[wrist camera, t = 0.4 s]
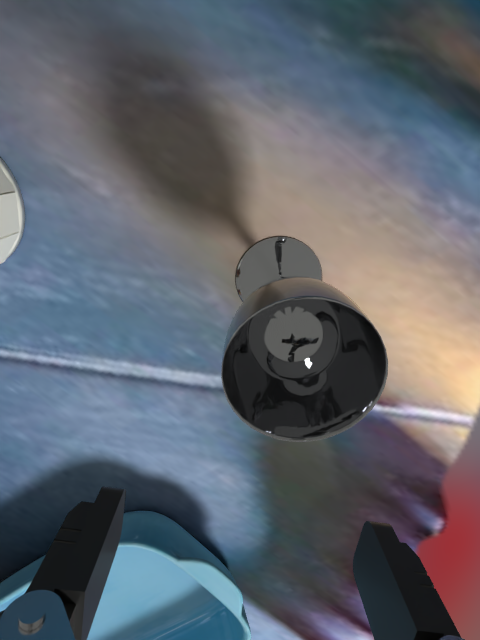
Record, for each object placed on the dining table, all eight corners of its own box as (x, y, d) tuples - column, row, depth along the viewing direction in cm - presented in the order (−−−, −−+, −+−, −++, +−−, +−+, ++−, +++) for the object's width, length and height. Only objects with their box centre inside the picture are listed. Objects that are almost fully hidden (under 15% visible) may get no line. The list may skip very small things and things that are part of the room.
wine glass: (237, 224, 31) (233, 286, 17) (337, 239, 31) (411, 311, 18) (224, 317, 34) (211, 432, 20) (315, 329, 34) (363, 450, 21)
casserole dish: (163, 459, 41) (148, 518, 34) (286, 575, 48) (292, 643, 41) (-57, 594, 50) (-103, 662, 43) (73, 675, 57) (50, 743, 50)
